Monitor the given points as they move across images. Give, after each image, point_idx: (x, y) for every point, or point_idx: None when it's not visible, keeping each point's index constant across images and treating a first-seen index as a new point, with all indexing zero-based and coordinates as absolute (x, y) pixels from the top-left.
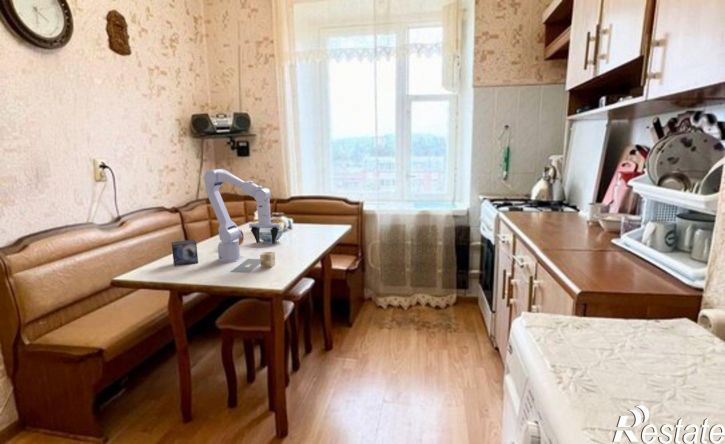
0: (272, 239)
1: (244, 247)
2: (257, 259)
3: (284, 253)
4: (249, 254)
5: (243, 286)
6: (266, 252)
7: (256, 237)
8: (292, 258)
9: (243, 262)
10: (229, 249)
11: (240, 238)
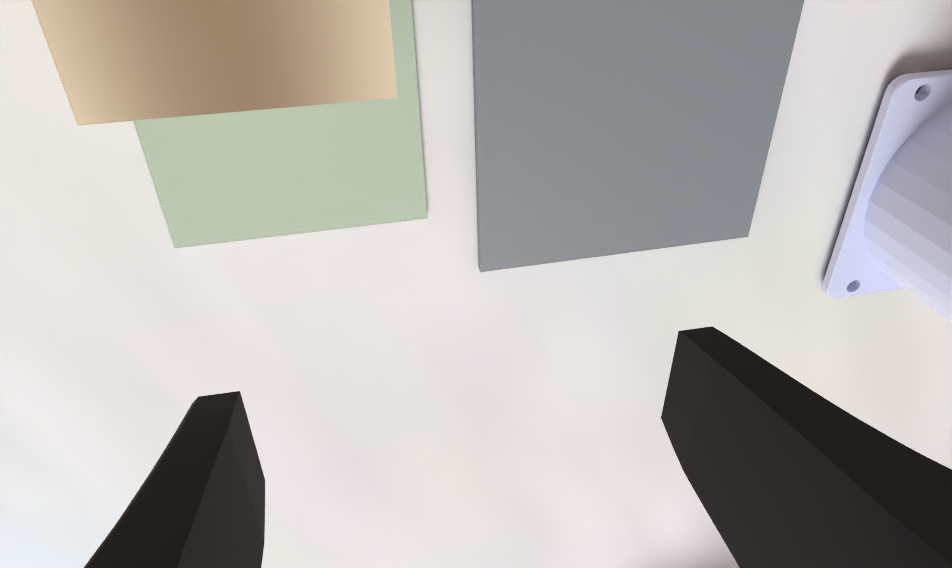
0: (180, 490)
1: None
2: (601, 234)
3: (346, 526)
4: None
5: None
6: (302, 53)
7: (812, 434)
8: (92, 401)
9: (782, 52)
10: None
11: None
